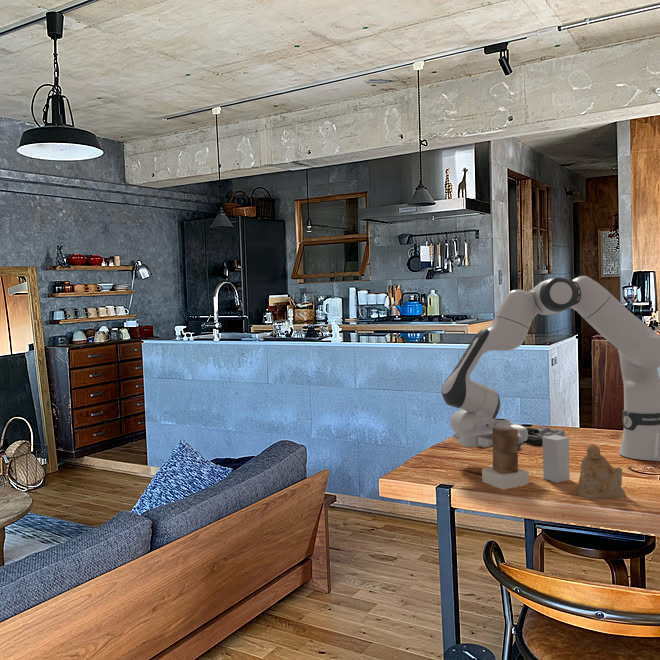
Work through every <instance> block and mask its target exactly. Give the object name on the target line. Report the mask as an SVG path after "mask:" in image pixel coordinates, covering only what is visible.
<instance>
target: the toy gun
mask: <svg viewBox="0 0 660 660" xmlns="http://www.w3.org/2000/svg"><path fill="white" fill-rule="evenodd" d="M525 428H526V429H527V432H528V438H527V440H526V441H523V443H526V444H525V445H527V444H532V445H534V446H536V445H538V446H541V445H543V437H546V436H551V435H559V436H563V437H566V436H565V435H566V434H565V431H564V430H563V429H559V428H558V429H553V428H550V427H547V426H541V425H539V427H537V428H533V427H525ZM523 443H518V449H520V448H522V444H523Z"/></svg>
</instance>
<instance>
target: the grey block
mask: <svg viewBox="0 0 660 660" xmlns="http://www.w3.org/2000/svg"><path fill="white" fill-rule="evenodd" d="M542 470H543V471H542V472H543V476H542V477H543V480H547V481H549V480H550V482H553V483H557V484H558V483H561V482H565V481H570V480H571V477H570V473H571V472H570V471H571V470H570V437H567V436H565V437H563V436H559V435H551V436H546V437H543V444H542ZM569 479H570V480H569Z"/></svg>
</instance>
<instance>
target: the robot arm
mask: <svg viewBox="0 0 660 660" xmlns="http://www.w3.org/2000/svg"><path fill="white" fill-rule="evenodd" d="M568 309H573V310H574V311H576V312H577V313H578V315H580V317H582V319H584V320H585V321H586V322H587V323H588V324H589V325H590V326H591V327H592V328H593V329H594V330H595V331H596V332H597V333H598V334H599V335H601V336H602V338H604V339H605V340H607V342H609V343H610V344H612V345H613V346H614V347H615V348H616V349H617V352H618V355H619V363H620V364H619V365H620V372H621V377H622V383H623V409H622V424H623V431H622V432H623V433H622V439H621V444H620V449H619V451H618V454H619V455H621V456H622V457H625V458H629V459H635V460H642V461H655V462H660V373H659V370H658V368H660V334H658V333H657V332H656V331H655V330H653V329H652V328H651V327H650V326H648V325H647V324H646V323H644V321H642V319H640V318H638V317H637V316H636V315H634V313H632V312H631V311H630V310H629V309H628V308H626V306H624V304H623V303H621V302H620V301H619V300H618V299H617V297H615V296H614V295H613V294H612V293H610V291H609V290H607V288H605V287H604V286H603V285H601V284H600V283H599V282H597V281H595V280H594V279H592V278H591V277H589V276H587V275H579V276H577V277H575V278H574V279H572V280H571V279H567V278H564V277H561V276H560V277H559V276H558V277H557V276H556V277H550V278H548V279H545V280H543V281H541V282H539V283H538V284H537V285H534V286H532V288H531V289H529V290H528V291H527V290H523V289H513V290H511V291H509V292H508V293H507V294H506V296H505V297H504V299H503V301H502V302H501V304H500V306H499V307H498V309H497V312H496V314H495V316H494V318H493V321H492V322H491V324H490V325H489V326H488V327H487V328H485V329H484V328H483V329H480V330H479V331H478V332H477V333H476V334H475V336H474V337H473V339H472V340H471V342H470V343H469V345H468V346H467V348H466V349H465V351H464V352H463V354H462V356H461V358H460V359H459V361H458V362H457V364H456V366H455V367H454V369H453V370H452V372H451V373H450V374H449V376H448V377H447V378H446V380H445V381H444V383H443V384H442V387H441V396H442V398H443V401H444V402H445V404H446V405H448V406H451V407H454V408H457V409H459V410H457V411H455V412H453V413H452V415H451V416H450V419H449V420H450V421H449V423H450V428H451V430H452V431H453V433H455V434H453V435H452V437H453V439H456V440H457V442H458V444H460V446H462V447H464V448H473V447H474V448H475V447H480V448H488V447H489V448H490V447H493V436H492V428H493V427H505V426H509V427H512V428H514V429H517V437H518V443H521V444H523V441H526V440H527V438H528V432H527V429H526V428H527V427H525V426H524V425H521V424H518V423H517V422H516V423H515V422H511V420H510V419H509V418H497V416H498V414H499V411H500V408H501V399H500V395H499V393H498V391H497V390H496V389H494V388H492V387H489V386H487V385H485V384H482V383H480V382H477V381H475V380H474V379H470V378H471V377H470V376H471V374H472V372H473V371H474V369H475V367H476V366H477V364H478V363H479V362H480V359H481V357H482V356H483V355H484V354H486V353H487V352H490V351H491V352H493V351H502V352H503V351H505V352H506V351H507V352H508V351H512V350H515V349H518V348H519V347H520V346H522V344H523V343H524V341H525V339H526V338H527V336H528V333H529V330H530V327H531V325H532V321H534V319H535V318H536V316H538V317H549V316H553V315H557V314H561V313H562V312H564V311H566V310H568Z"/></svg>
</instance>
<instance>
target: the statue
mask: <svg viewBox="0 0 660 660" xmlns="http://www.w3.org/2000/svg"><path fill="white" fill-rule="evenodd" d="M622 473H623V468H621V467H620V466H617V467H615V466H613V465H611V464H610V463H609V461H608V460H607V458H606V457H605V456H603V455H602V454H601V449H600V447H599V446H597V445H596V444H591V445H588V447H587V448H586V455H585V456H583V457H582V460H581V463H580V475H579V480H578V485H577V486H576V487H575V490H574V494H575V493H576V494H577V495H576V494H575V495H576V496H578V497H581V498H583V497H584V498H583V499H587V498H588V499H587V500H594V499H602V500H615V499H620V498H625V497H626V495H625V490H624V489H623V487H622V484H623V475H622Z"/></svg>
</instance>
